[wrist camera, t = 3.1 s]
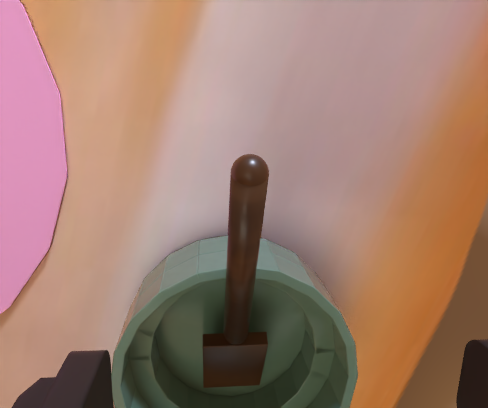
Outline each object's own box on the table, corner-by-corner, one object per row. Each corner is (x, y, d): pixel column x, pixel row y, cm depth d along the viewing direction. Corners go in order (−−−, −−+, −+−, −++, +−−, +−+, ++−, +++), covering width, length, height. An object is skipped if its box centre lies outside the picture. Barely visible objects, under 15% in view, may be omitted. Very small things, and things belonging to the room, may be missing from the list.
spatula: (258, 378, 30) (286, 523, 20) (203, 380, 30) (202, 530, 20) (265, 134, 26) (305, 157, 16) (201, 133, 26) (198, 156, 15)
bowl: (86, 331, 29) (56, 390, 23) (232, 189, 27) (239, 214, 22) (230, 443, 32) (235, 518, 26) (367, 322, 31) (404, 374, 25)
